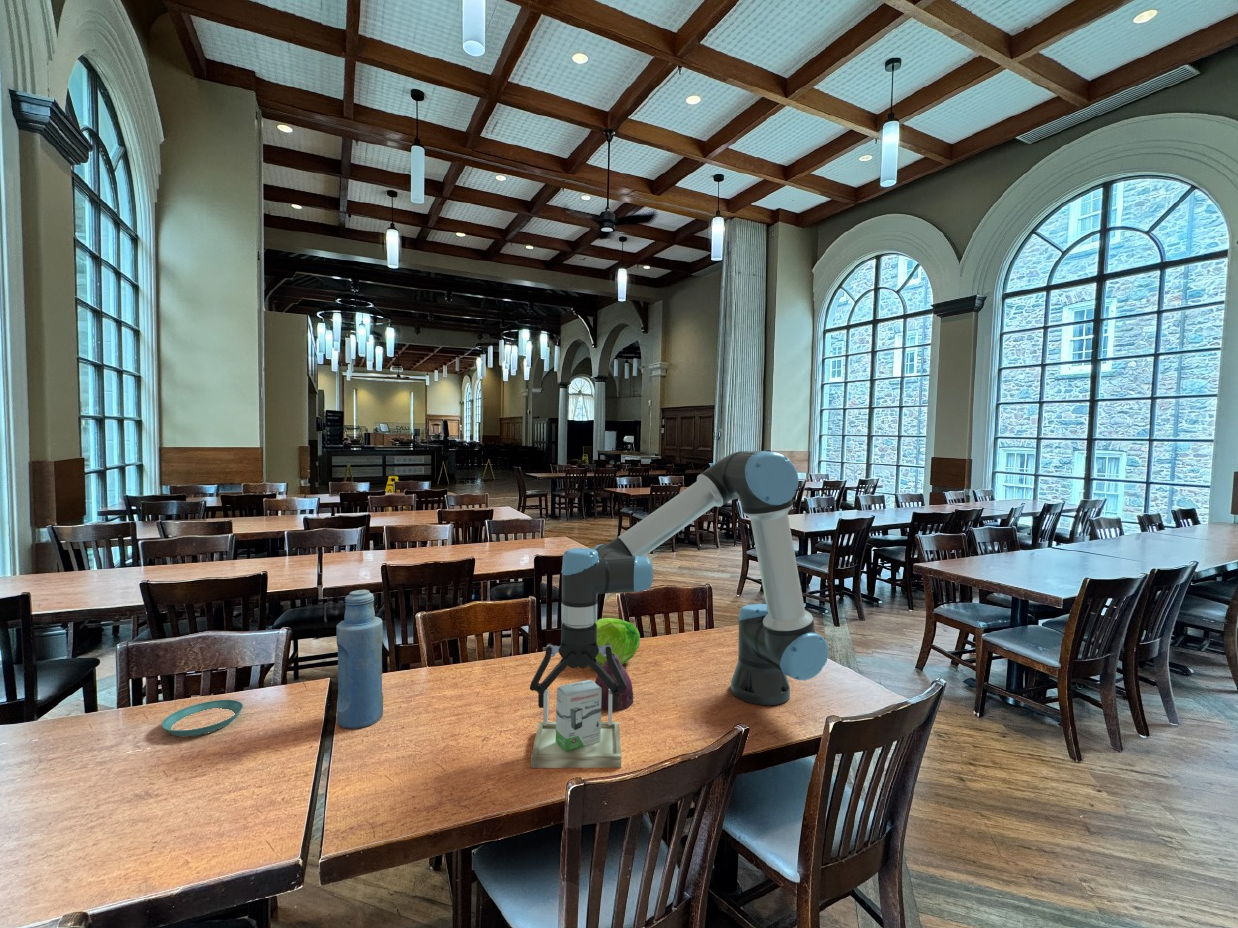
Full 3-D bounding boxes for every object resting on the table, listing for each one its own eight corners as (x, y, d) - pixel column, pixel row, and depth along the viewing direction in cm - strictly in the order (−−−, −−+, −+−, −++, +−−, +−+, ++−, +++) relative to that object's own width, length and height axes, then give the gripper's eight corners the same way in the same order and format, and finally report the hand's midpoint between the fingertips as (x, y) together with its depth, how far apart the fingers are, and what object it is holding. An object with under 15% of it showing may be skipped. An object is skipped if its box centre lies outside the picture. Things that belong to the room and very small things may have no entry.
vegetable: (627, 724, 134) (633, 673, 130) (586, 714, 136) (591, 663, 132) (636, 696, 144) (642, 647, 139) (598, 687, 146) (602, 638, 141)
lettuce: (566, 662, 165) (569, 615, 168) (627, 664, 172) (629, 618, 176) (583, 668, 152) (586, 616, 155) (648, 669, 159) (650, 620, 163)
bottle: (390, 719, 129) (390, 591, 128) (346, 734, 121) (346, 599, 121) (372, 705, 135) (373, 584, 134) (329, 719, 128) (330, 591, 127)
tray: (618, 731, 124) (618, 721, 124) (621, 767, 110) (621, 756, 110) (538, 731, 124) (538, 721, 124) (530, 767, 110) (530, 756, 110)
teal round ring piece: (223, 704, 135) (223, 693, 135) (256, 720, 128) (256, 708, 128) (149, 730, 122) (149, 718, 122) (180, 749, 115) (180, 737, 115)
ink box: (565, 752, 113) (565, 695, 112) (554, 741, 117) (555, 686, 117) (601, 741, 117) (602, 686, 117) (590, 731, 121) (591, 678, 121)
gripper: (637, 617, 121) (635, 713, 121) (522, 616, 120) (521, 713, 120) (639, 628, 113) (637, 730, 114) (517, 628, 112) (516, 731, 113)
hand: (577, 722), depth 117 cm, fingers open, 13 cm apart
